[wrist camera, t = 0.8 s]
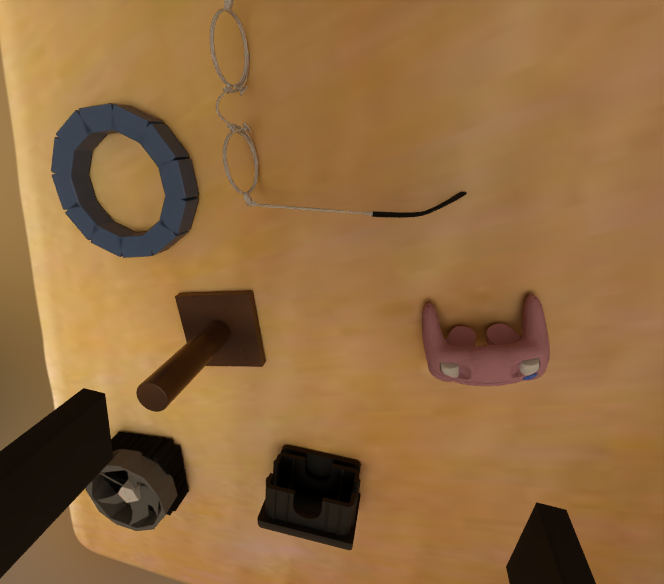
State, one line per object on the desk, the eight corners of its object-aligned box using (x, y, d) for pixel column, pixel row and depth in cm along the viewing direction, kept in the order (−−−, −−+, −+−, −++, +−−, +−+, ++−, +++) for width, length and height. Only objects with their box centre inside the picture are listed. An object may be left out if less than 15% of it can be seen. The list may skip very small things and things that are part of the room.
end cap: (277, 487, 47) (256, 540, 41) (279, 442, 44) (257, 491, 38) (358, 507, 46) (349, 564, 39) (365, 461, 43) (357, 515, 37)
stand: (180, 292, 40) (90, 350, 29) (252, 290, 38) (186, 351, 27) (197, 360, 42) (121, 437, 31) (266, 361, 41) (210, 443, 30)
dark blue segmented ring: (52, 117, 36) (31, 115, 34) (178, 97, 33) (162, 94, 31) (96, 254, 40) (79, 260, 38) (210, 247, 37) (199, 253, 35)
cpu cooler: (169, 539, 45) (94, 524, 47) (195, 498, 51) (126, 486, 53) (154, 472, 42) (73, 458, 44) (183, 435, 47) (110, 424, 49)
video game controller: (423, 329, 38) (427, 395, 33) (419, 298, 34) (423, 366, 30) (534, 322, 35) (556, 392, 30) (541, 287, 32) (567, 360, 27)
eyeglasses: (227, -5, 29) (192, -32, 25) (488, -32, 26) (504, -69, 21) (248, 209, 35) (223, 219, 30) (464, 211, 31) (472, 223, 27)
